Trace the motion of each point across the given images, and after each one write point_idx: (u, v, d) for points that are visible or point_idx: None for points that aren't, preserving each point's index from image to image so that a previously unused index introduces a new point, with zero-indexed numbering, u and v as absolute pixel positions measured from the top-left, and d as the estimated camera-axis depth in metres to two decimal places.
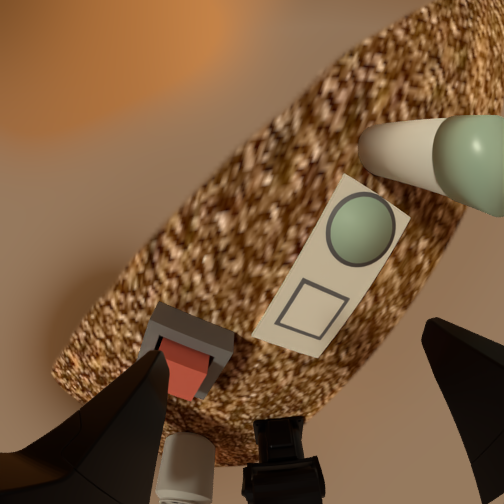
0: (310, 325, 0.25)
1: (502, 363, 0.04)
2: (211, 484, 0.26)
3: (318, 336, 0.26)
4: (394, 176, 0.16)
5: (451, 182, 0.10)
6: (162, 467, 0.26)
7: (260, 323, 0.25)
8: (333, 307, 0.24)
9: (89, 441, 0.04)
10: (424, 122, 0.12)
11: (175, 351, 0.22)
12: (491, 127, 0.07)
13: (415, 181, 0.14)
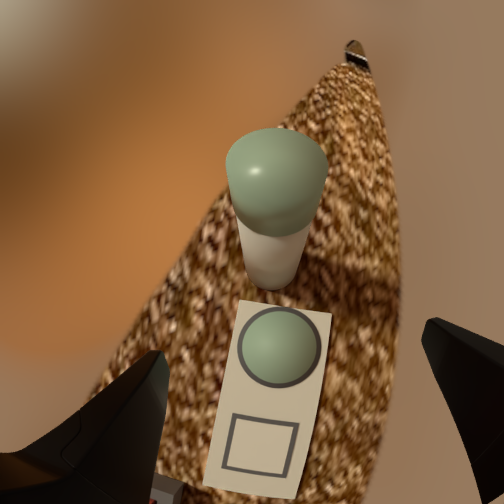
0: (264, 463, 0.17)
1: (502, 363, 0.04)
2: None
3: (281, 474, 0.16)
4: (262, 270, 0.19)
5: (245, 214, 0.13)
6: None
7: (206, 469, 0.17)
8: (283, 437, 0.18)
9: (89, 441, 0.04)
10: None
11: None
12: (246, 142, 0.12)
13: (261, 254, 0.16)
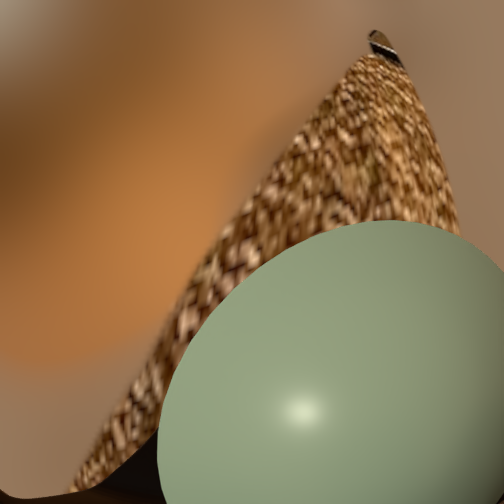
0: None
1: None
2: None
3: None
4: None
5: None
6: None
7: None
8: None
9: None
10: None
11: None
12: (260, 335, 0.02)
13: None
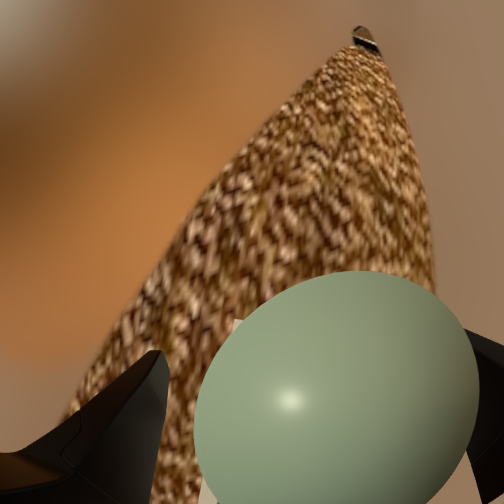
0: None
1: (502, 363, 0.04)
2: None
3: None
4: None
5: None
6: None
7: None
8: None
9: (89, 441, 0.04)
10: None
11: None
12: (260, 349, 0.04)
13: None
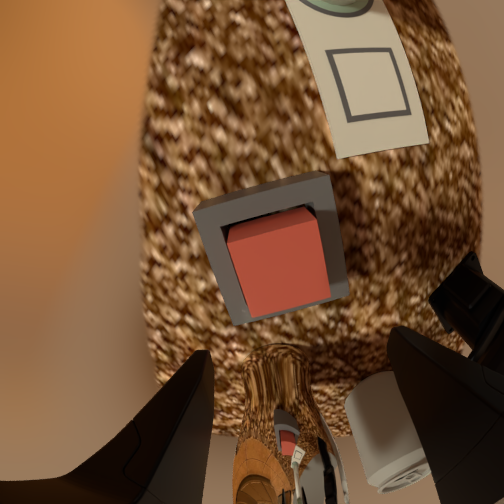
0: (385, 99, 0.15)
1: (466, 382, 0.04)
2: None
3: (406, 111, 0.15)
4: None
5: None
6: (359, 444, 0.18)
7: (333, 133, 0.16)
8: (386, 65, 0.14)
9: (155, 454, 0.04)
10: None
11: (254, 228, 0.14)
12: None
13: None
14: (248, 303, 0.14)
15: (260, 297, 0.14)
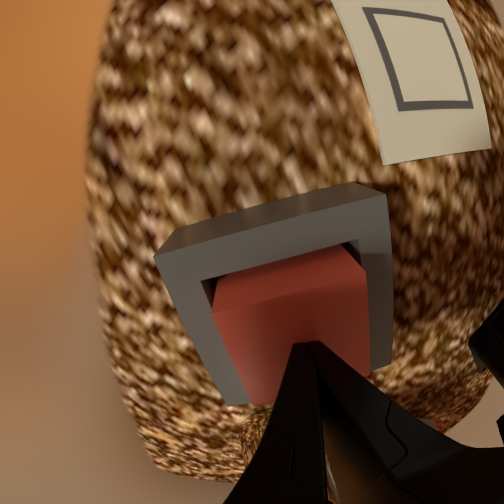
0: (444, 83, 0.08)
1: (358, 420, 0.04)
2: None
3: (467, 103, 0.09)
4: None
5: None
6: None
7: (379, 125, 0.09)
8: (441, 39, 0.08)
9: (317, 451, 0.04)
10: None
11: (258, 280, 0.09)
12: None
13: None
14: (248, 390, 0.09)
15: (267, 383, 0.09)
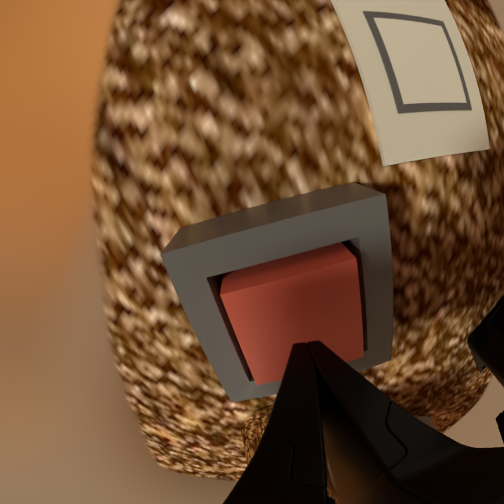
0: (443, 86, 0.09)
1: (359, 420, 0.04)
2: None
3: (465, 105, 0.09)
4: None
5: None
6: None
7: (379, 127, 0.10)
8: (440, 42, 0.08)
9: (317, 451, 0.04)
10: None
11: (261, 266, 0.10)
12: None
13: None
14: (252, 369, 0.10)
15: (269, 362, 0.10)
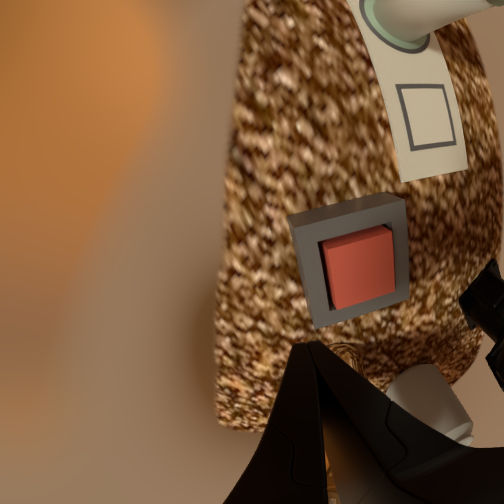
0: (438, 131, 0.16)
1: (358, 420, 0.04)
2: (461, 405, 0.18)
3: (452, 142, 0.16)
4: (436, 24, 0.09)
5: None
6: None
7: (399, 160, 0.17)
8: (439, 101, 0.15)
9: (317, 451, 0.04)
10: None
11: (342, 237, 0.17)
12: None
13: (459, 12, 0.07)
14: (336, 298, 0.17)
15: (346, 292, 0.17)
